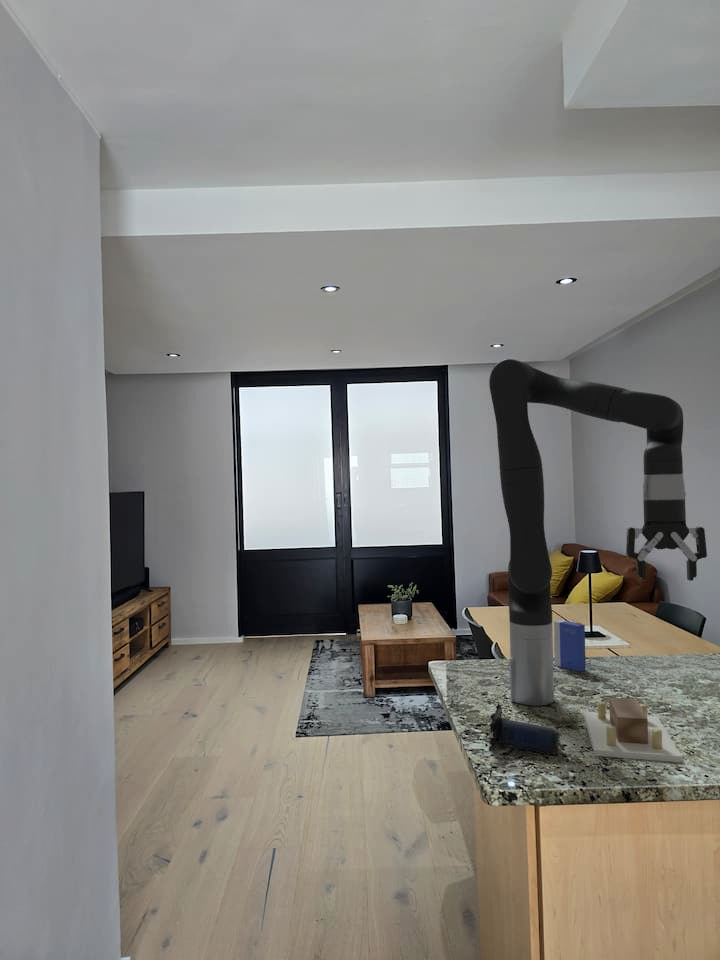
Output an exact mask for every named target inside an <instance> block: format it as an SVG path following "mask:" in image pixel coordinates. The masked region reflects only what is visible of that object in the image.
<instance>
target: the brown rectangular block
mask: <svg viewBox="0 0 720 960" xmlns="http://www.w3.org/2000/svg"><path fill="white" fill-rule="evenodd" d="M608 699H609V713H610V722H611V725H612V726H614V727H616V738H617V740H618V742H624V743H638V744H648V719H647V717H646V715H645V713H644V712H643V710H642V708H641V706H640V704H641V703H639V701H638V700H637V699H636V698H619V697H609V698H608Z"/></svg>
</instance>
